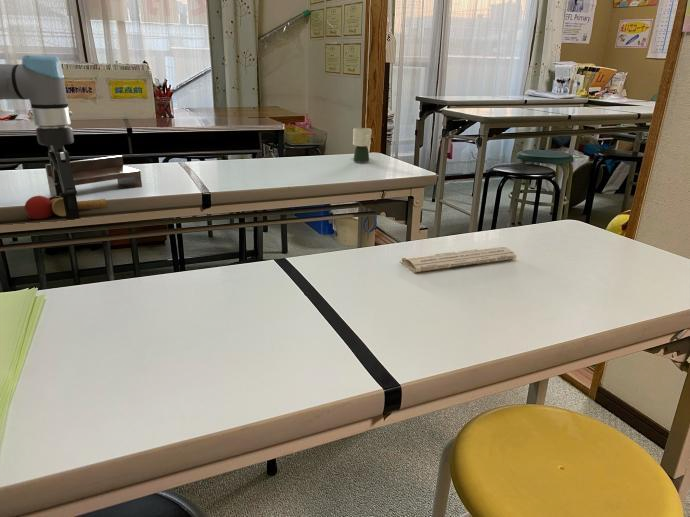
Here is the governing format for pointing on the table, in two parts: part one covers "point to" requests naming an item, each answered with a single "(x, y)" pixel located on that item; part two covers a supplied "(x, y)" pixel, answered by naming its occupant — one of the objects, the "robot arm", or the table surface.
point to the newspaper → (458, 258)
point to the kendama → (56, 206)
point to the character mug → (361, 143)
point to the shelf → (99, 172)
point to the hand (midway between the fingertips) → (69, 215)
